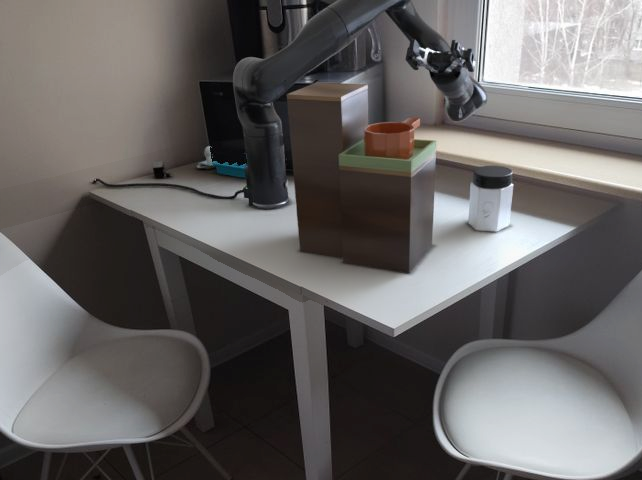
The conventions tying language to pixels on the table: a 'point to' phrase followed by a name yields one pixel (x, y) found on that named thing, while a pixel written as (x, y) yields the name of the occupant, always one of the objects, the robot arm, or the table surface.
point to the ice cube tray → (230, 169)
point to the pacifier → (208, 161)
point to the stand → (354, 185)
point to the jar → (490, 198)
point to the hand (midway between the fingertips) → (432, 44)
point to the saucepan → (390, 139)
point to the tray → (358, 159)
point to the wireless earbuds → (160, 170)
